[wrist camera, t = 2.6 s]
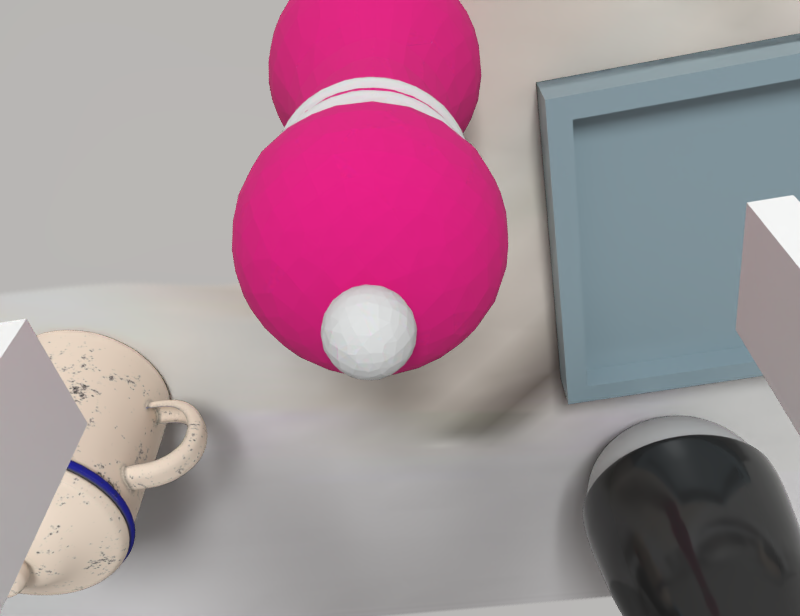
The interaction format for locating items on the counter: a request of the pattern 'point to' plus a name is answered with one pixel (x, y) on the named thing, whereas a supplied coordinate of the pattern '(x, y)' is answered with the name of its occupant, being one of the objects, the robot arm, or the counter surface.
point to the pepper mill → (371, 189)
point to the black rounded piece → (692, 523)
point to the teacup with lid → (105, 462)
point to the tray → (662, 210)
